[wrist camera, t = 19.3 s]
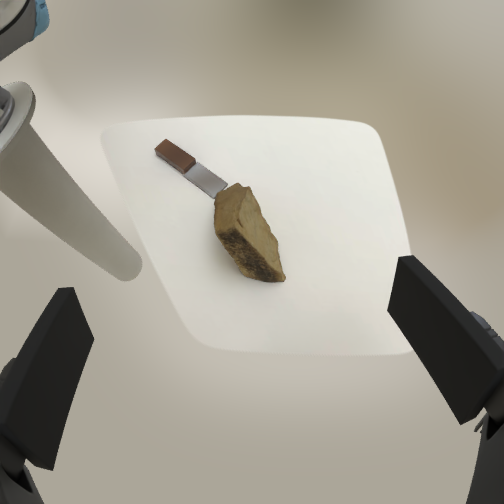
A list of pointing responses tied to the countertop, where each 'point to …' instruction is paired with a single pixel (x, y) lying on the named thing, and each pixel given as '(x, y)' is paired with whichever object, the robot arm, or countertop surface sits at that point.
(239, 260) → the rock
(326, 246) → the countertop surface
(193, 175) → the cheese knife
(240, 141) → the countertop surface
